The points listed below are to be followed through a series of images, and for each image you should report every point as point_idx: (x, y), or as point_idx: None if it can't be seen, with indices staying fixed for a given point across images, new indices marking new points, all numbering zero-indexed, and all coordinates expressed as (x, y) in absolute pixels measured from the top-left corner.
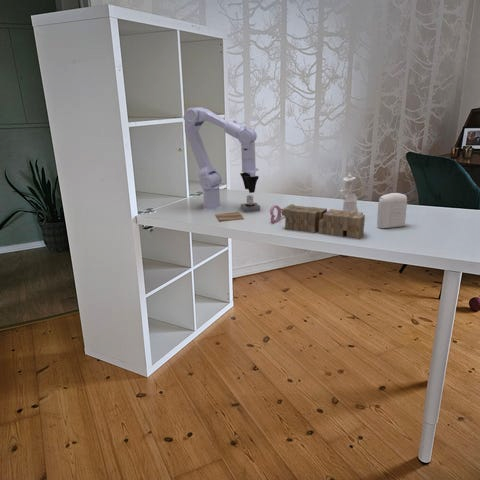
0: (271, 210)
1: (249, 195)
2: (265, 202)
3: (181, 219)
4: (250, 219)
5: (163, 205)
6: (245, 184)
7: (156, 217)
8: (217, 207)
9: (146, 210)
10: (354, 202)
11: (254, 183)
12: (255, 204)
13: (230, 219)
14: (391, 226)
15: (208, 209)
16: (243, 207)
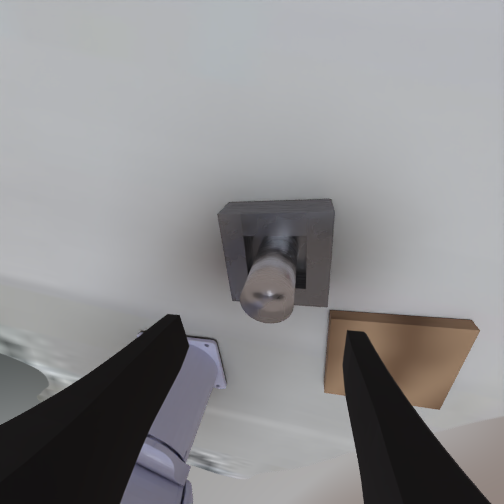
0: None
1: (242, 300)
2: (89, 109)
3: (312, 446)
4: (475, 288)
5: None
6: (163, 388)
7: (265, 467)
8: (209, 358)
9: (190, 459)
10: None
11: (418, 463)
12: (267, 229)
13: (455, 378)
14: None
15: (224, 380)
16: (310, 304)
